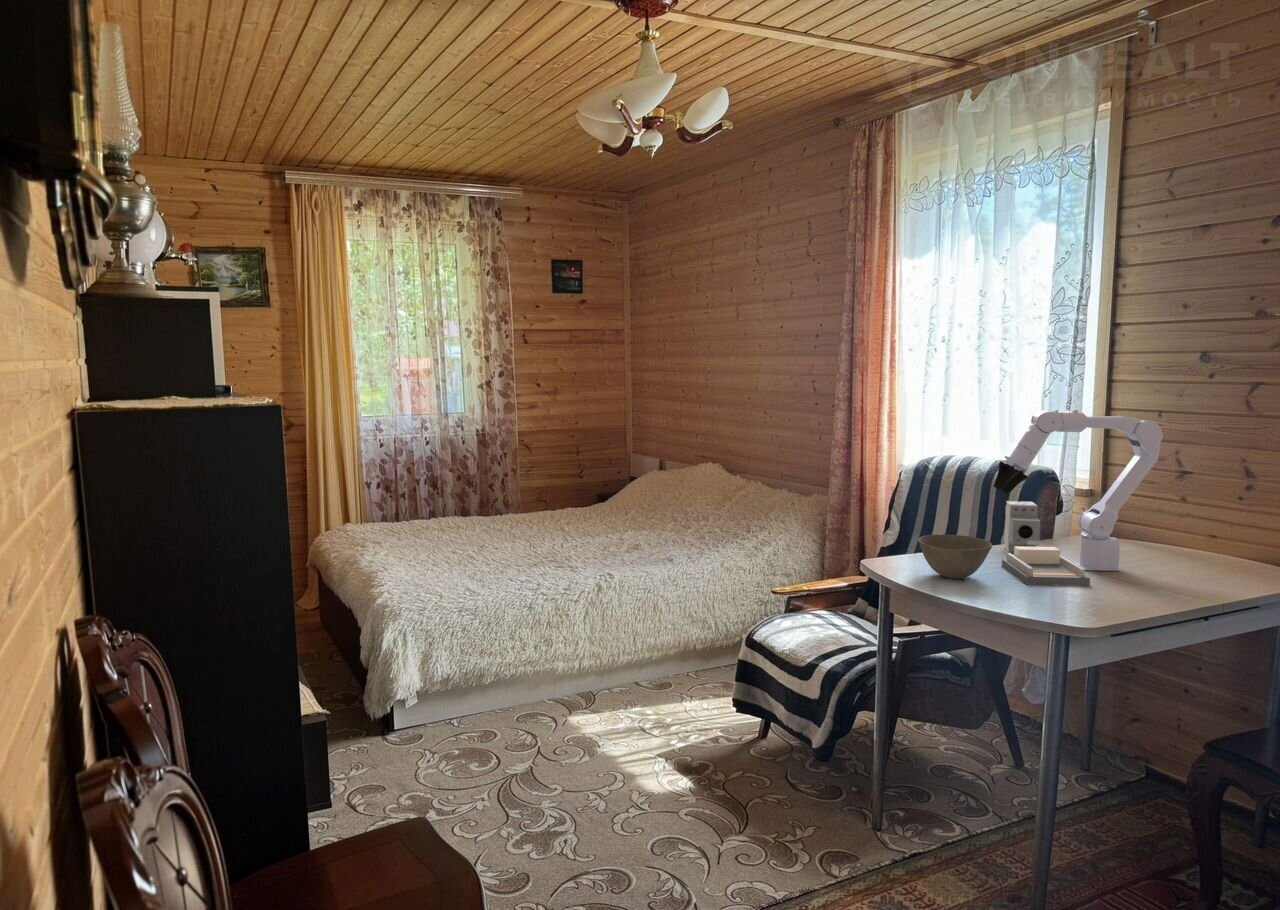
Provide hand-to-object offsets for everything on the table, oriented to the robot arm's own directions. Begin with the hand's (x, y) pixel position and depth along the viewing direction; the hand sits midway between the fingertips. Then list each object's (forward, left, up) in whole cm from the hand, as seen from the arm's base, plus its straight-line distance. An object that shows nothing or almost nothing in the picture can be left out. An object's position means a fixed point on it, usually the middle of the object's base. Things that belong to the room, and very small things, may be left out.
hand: (1000, 490), depth 240 cm
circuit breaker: (-12, -15, -22) cm, 29 cm away
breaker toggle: (-9, +6, -19) cm, 22 cm away
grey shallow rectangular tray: (-9, +12, -22) cm, 26 cm away
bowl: (+16, +16, -22) cm, 32 cm away
